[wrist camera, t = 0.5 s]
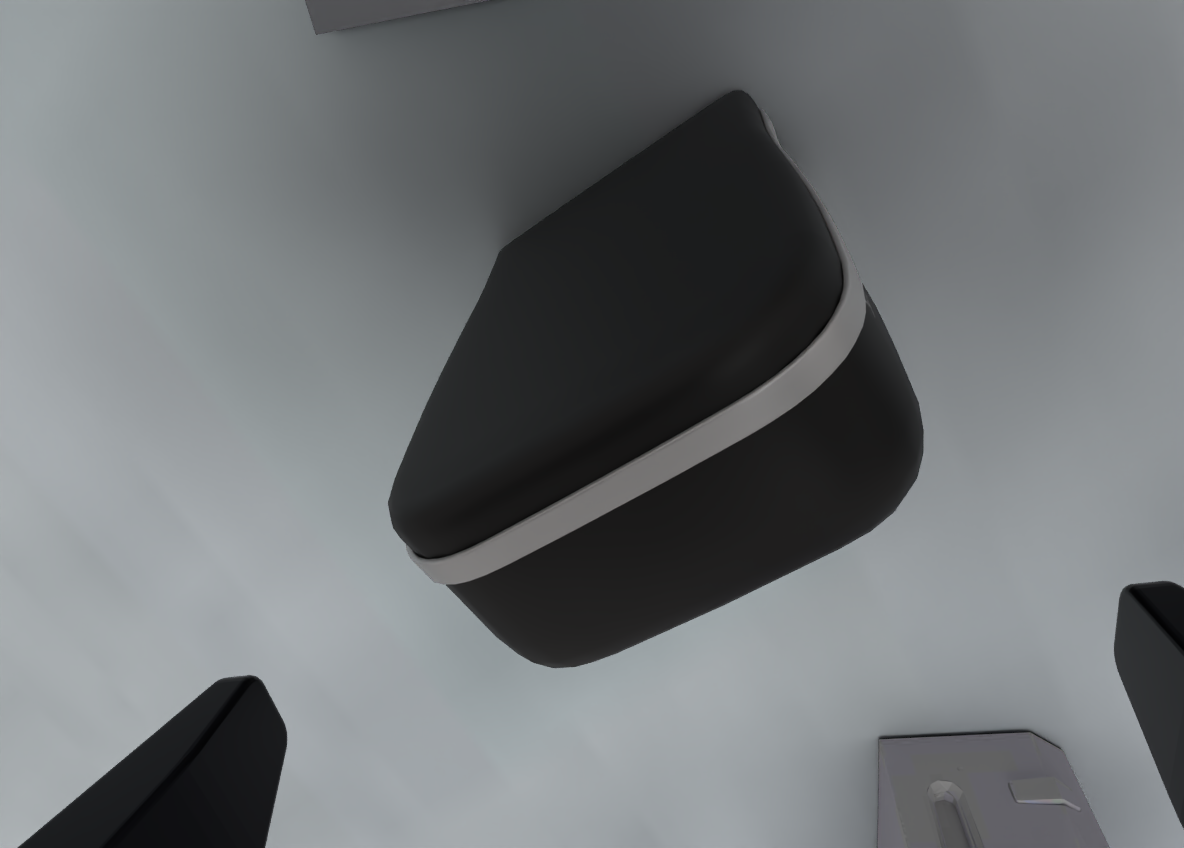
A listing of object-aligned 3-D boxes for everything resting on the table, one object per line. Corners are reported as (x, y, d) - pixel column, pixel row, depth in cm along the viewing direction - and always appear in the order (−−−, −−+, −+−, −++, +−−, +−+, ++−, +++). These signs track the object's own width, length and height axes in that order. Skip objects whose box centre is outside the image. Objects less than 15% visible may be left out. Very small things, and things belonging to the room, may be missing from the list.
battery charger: (582, 375, 22) (521, 753, 12) (486, 254, 21) (333, 571, 11) (837, 221, 20) (1013, 536, 10) (750, 72, 19) (856, 269, 9)
